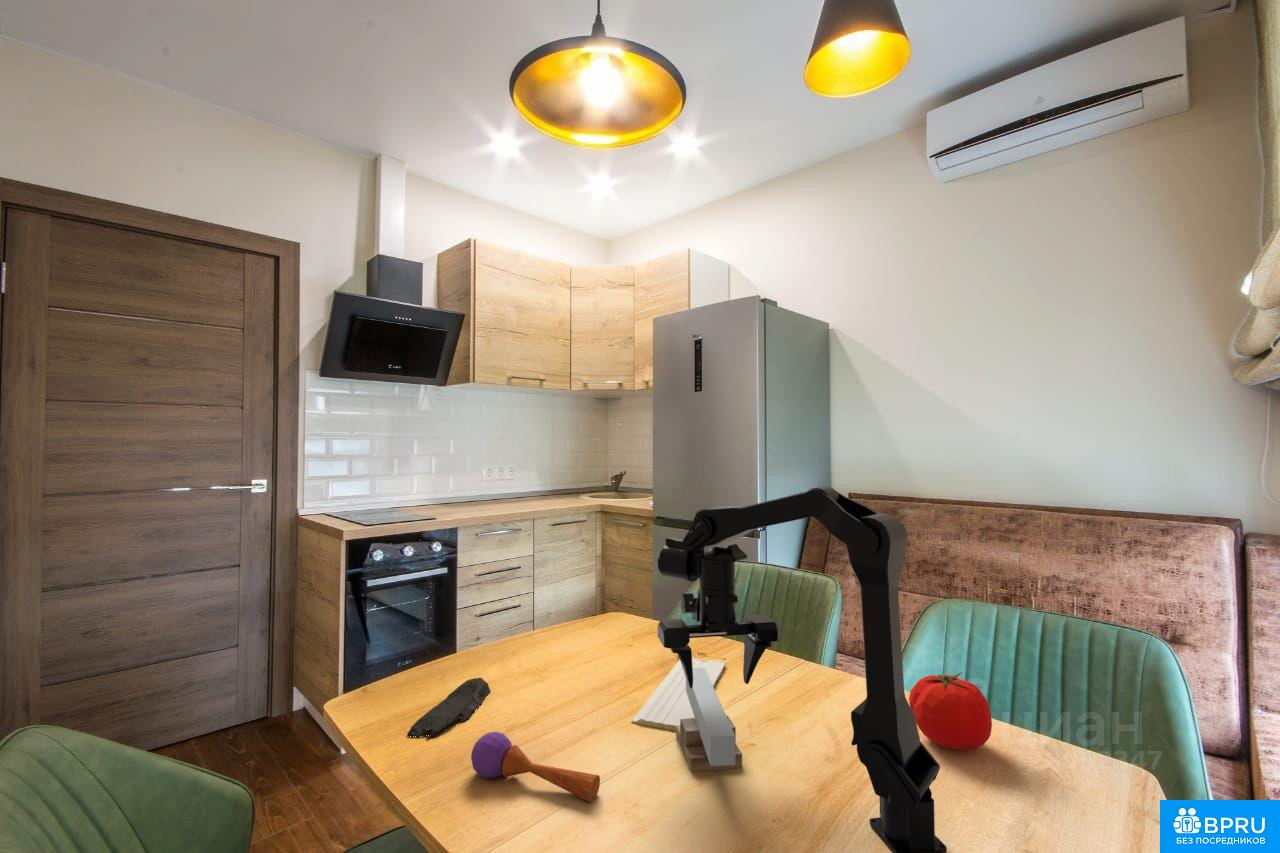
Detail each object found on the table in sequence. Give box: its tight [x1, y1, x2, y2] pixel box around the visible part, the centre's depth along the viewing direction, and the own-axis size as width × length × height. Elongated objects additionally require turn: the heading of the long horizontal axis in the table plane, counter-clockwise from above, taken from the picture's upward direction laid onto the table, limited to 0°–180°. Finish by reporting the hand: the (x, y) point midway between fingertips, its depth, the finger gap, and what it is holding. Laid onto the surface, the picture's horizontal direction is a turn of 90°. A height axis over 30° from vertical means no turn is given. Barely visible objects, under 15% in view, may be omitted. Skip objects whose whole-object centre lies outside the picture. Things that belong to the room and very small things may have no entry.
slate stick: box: [686, 668, 735, 766], centre depth 89 cm, size 24×4×4 cm, turn 3°
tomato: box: [908, 671, 993, 751], centre depth 92 cm, size 12×12×11 cm
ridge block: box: [675, 714, 743, 773], centre depth 89 cm, size 10×8×4 cm
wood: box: [406, 677, 491, 741], centre depth 103 cm, size 22×7×3 cm, turn 167°
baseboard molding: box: [631, 652, 727, 732], centre depth 111 cm, size 31×3×12 cm
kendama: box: [470, 731, 601, 803], centre depth 81 cm, size 6×6×20 cm
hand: (718, 685), depth 89 cm, fingers open, 9 cm apart
